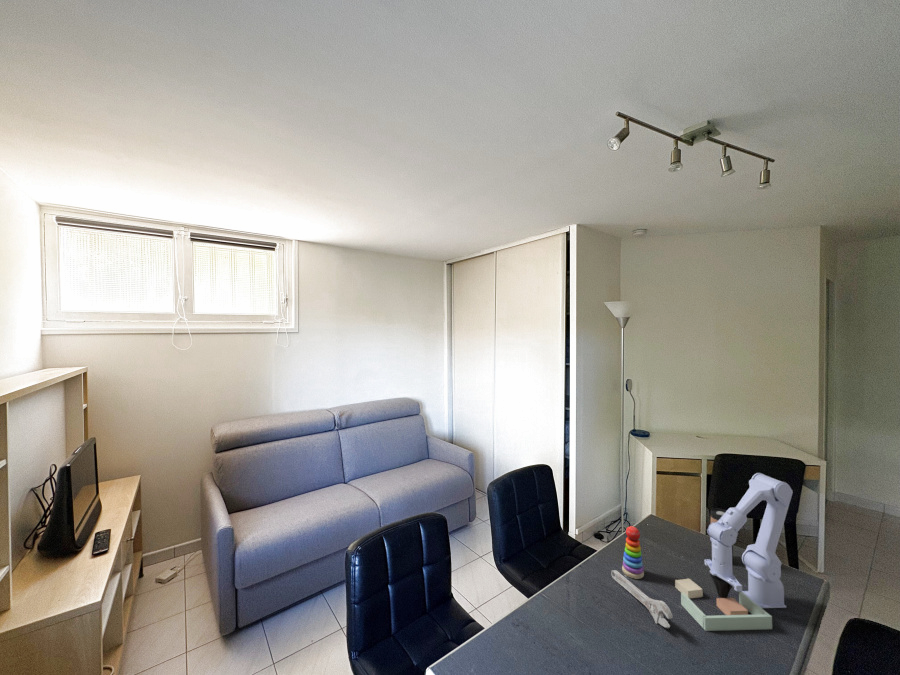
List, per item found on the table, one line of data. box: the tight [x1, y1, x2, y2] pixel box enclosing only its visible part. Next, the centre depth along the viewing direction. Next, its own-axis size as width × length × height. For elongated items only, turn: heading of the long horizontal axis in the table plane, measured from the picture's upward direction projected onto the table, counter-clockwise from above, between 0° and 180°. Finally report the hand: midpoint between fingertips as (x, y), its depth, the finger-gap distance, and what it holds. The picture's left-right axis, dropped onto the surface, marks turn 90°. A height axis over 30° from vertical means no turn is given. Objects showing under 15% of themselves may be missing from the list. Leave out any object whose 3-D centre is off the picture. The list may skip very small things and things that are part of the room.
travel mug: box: [710, 507, 734, 564], centre depth 151 cm, size 8×8×20 cm
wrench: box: [610, 570, 673, 629], centre depth 126 cm, size 8×2×30 cm
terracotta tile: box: [716, 597, 749, 615], centre depth 121 cm, size 6×6×3 cm
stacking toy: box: [621, 525, 645, 580], centre depth 142 cm, size 8×8×19 cm
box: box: [680, 591, 773, 632], centre depth 119 cm, size 22×12×4 cm, turn 91°
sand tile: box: [674, 578, 704, 600], centre depth 131 cm, size 6×6×3 cm
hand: (722, 597), depth 125 cm, fingers closed
